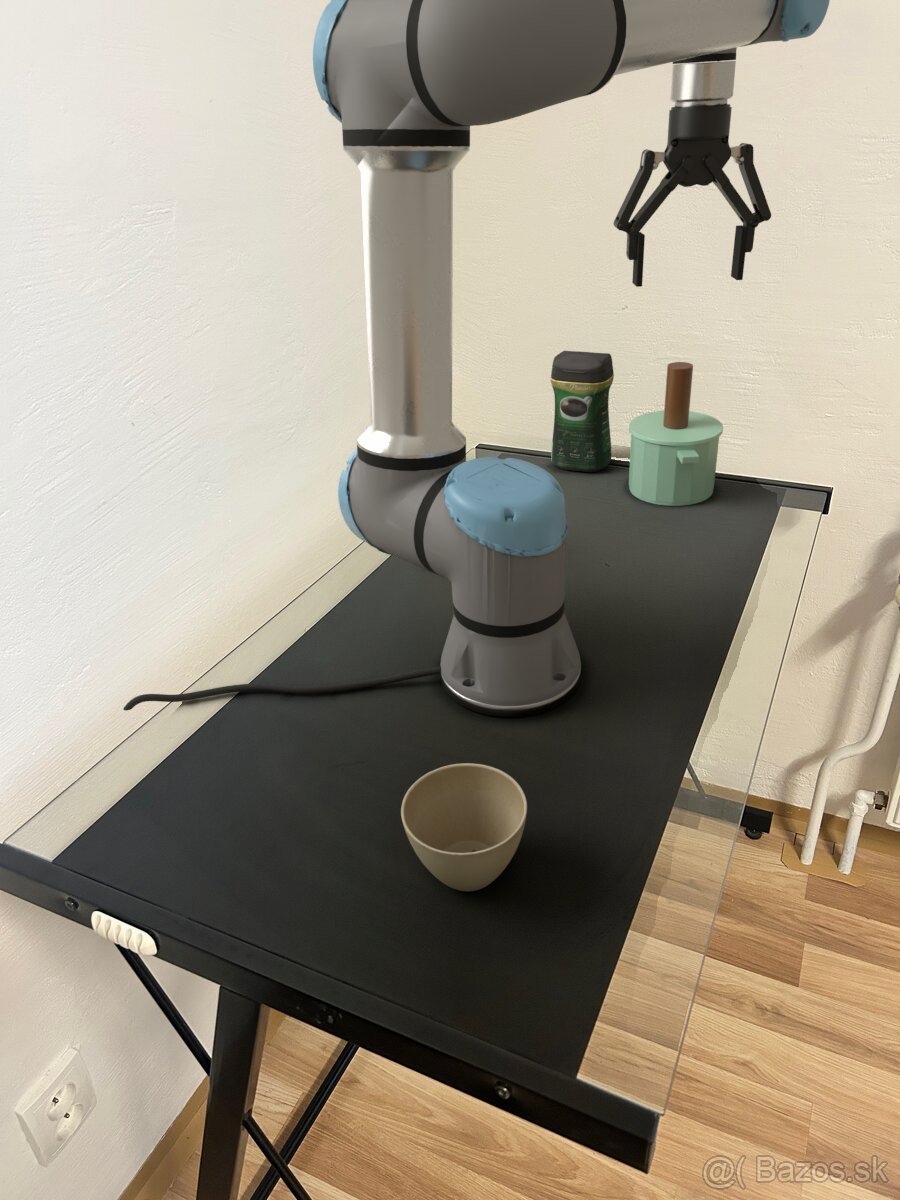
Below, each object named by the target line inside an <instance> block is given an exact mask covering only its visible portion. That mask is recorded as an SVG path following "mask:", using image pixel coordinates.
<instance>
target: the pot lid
mask: <svg viewBox="0 0 900 1200" xmlns="http://www.w3.org/2000/svg"><path fill="white" fill-rule="evenodd" d="M693 373H694V365H693V364H692V363H691V362H686V361H674V362H670V363H668V364H667V365H666V378H665V380H666V382H665V394H664V406H663V410H657V411H650V412H647V413H643V414H640V415H637V416H635V417H634V418H632V419H631V420H630V421H629V423H628V431H629V433H630V435H631V434H632V435H633V436H634V437H636V438H638V439H640V440H643V441H646V442H649V443H654V444H660V445H669V446H688V445H697V444H702V443H707V442H710V441H713V440H715V439H717V438H718V437H719V438H720V436H722V434H723V431H724V426H723V424H722V422H721V421H720V420H719V419H717V418H715V417H713V416H711V415H708V414H706V413H701V412H697V411H691V410H690V409H691V408H690V407H691V397H692V396H691V395H692V383H693Z"/></svg>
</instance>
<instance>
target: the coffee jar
mask: <svg viewBox="0 0 900 1200" xmlns="http://www.w3.org/2000/svg"><path fill="white" fill-rule="evenodd" d="M613 364H614V363H613V357H612V354H610V353H607V352H605V353H604V352H594V351H593V352H591V351H576V350H575V351H574V350H562V351H561V352H559V353H558V354H557V355H555V356H554V357H553V360H552V365H551V374H550V385H551V387H552V390H553V394H554V395H553V396H554V418H553V430H552V442H551V453H550V454H551V455H550V459H551V464H552V465H553V466H554V467H555V468H557V469H560V470H565V471H566V470H567V471H573V472H574V471H575V472H583V473H584V472H585V473H595V472H598V471H601V470H604V469H605V468H607V467H608V466H609V465H610V463H611V461H612V439H611V429H610V427H611V426H610V412H609V398H610V389H611V387H612V384H613V382H614V378H615V373H614V365H613Z"/></svg>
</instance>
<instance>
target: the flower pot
mask: <svg viewBox="0 0 900 1200" xmlns="http://www.w3.org/2000/svg"><path fill="white" fill-rule="evenodd" d="M527 815H528V801H527V798H526V794H525V792H524V790H523V789H522V787H521V786H520V784H519V783H518V782H517V781H516V780H515V779H514V778H513V776H511V775H510V774H508V773H507V772H505V771H503V770H501V769H499V768H496V767H493V766H491V765H486V764H482V763H470V762H467V763H466V762H465V763H464V762H463V763H462V762H461V763H454V764H448V765H445V766H441V767H438V768H436V769H433V770H431V771H429V772H427V773H426V774H424V775H422V776H420V777H419V778H418V779H417V780H416V781H415V782H414V783H413V784H412V785H411V786H410V787H409V788H408V789H407V791H406V793H405V794H404V796H403V799H402V803H401V806H400V816H401V817H400V818H401V821H402V825H403V828H404V831H405V835H406V837H407V839H408V841H409V843H410V845H411V847H412V849H413V851H414V853H415V855H416V856H417V857H418V859H419V860H420V862H421V863H422V864H423V866H424V867H425V868H426V869H427V870H428V872H430V873H431V875H433V876H434V878H436V879H437V880H439V881H440V882H441V883H442V884H444V885H445V886H447V887H449V888H450V889H453V890H456V891H459V892H474V891H475V892H476V891H479V890H482V889H484V888H486V887H488V886H489V885H490V884H492V883H493V882H494V881H495V880H496V879H497V878H498V877H500V875H501V874H502V873H503V872H504V870H505V869H506V868H507V866H509V864H510V862H511V861H512V859H513V857H514V855H515V854H516V852H517V850H518V848H519V845H520V842H521V840H522V837H523V833H524V830H525V826H526V821H527Z"/></svg>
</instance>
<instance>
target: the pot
mask: <svg viewBox="0 0 900 1200" xmlns="http://www.w3.org/2000/svg"><path fill="white" fill-rule="evenodd" d="M719 444H720V437H718V438H717V439H715V440H713V441H710V442H707V443H702V444H697V445H688V446H669V445H660V444H654V443H649V442H646V441H643V440H640V439H638V438H636V437H634V436H633V435H632V434H631V433H630V451H629V452H630V453H629V471H628V489H629V492H630V494H632V495H633V497H635V498H637V499H639V500H640V501H643V502H646V503H649V504H652V505H659V506H666V507H678V506H679V507H681V506H682V507H683V506H690V505H695V504H699V503H702V502H704V501H707V500H708V499H709V498H710V497H711V496H712V495H713V493H714V487H715V482H716V471H717V462H718V454H719Z"/></svg>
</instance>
